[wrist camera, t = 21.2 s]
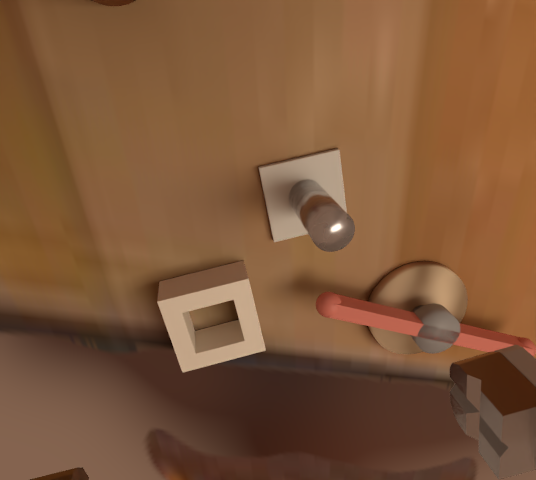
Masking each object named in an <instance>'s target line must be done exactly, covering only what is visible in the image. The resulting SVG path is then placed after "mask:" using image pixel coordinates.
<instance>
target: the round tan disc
mask: <svg viewBox="0 0 536 480" xmlns="http://www.w3.org/2000/svg"><path fill="white" fill-rule="evenodd" d="M467 301H468V299H467V291H466V288H465V285H464V283H463V282H462V280H461V279H460V278H459V277H458V276H457V275H456V274H455V273H454V272H452V271H451V270H450V269H449V268H447V267H446V266H444V265H442V264H440V263H437V262H432V261H417V262H412V263H409V264H406V265H403V266H401V267H399V268H397V269H395V270H393V271H392V272H391V273H389V274H388V275H386V276H385V277H384V278H383V279H382V280H381V281H380V282H379V283H378V285H377V286H376V287H375V289H374V290H373V292H372V294H371V295H370V298H369V300H368V302H372V303H376V304H380V305H384V306H389V307H393V308H397V309H401V310H406V311H410V312H415V311H416V310H417V309H418V308H420V307H422V306H424V305H427V304H432V303H436V304H440V305H442V306H444V307H445V308H446V309H447V310H448V311H449V312H450V313H451V314H452V315H453V316H454V317H455V318H456V319H457V320H458V322H459V323H461V321H462V319H463V317H464V315H465V312H466V308H467ZM368 328H369V330H370V331H371V333H372V335H373V336H374V338H375V339H376V341H377V342H378V343H379V344H380V345H381V346H382V347H383V348H385V349H387V350H389V351H391V352H394V353H398V354H416V353H420V352H424V351H422V350H421V349H420V348H419V346H418V345H417V344H416V343H415V341H414V340H413V339H412V337H411V336H410V335H407V334H403V333H398V332H394V331H389V330H384V329H380V328H375V327H371V326H368Z"/></svg>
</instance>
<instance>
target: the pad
mask: <svg viewBox="0 0 536 480" xmlns="http://www.w3.org/2000/svg"><path fill="white" fill-rule="evenodd" d="M258 168H259V173H260V178H261V183H262V188H263V193H264V197H265V202H266V207H267V212H268V217H269V222H270V227H271V232H272V237H273V241H274V242H277V241H281V240H285V239H289V238H293V237H297V236H301V235H306V234H308V232H307V231H306V229H305V228H304V226H303V224H302V223H301V221H300V220H299V218H298V217H297V215H296V214H295V212H294V211H293V209H292V207H291V206H290V203H289V193H290V190H291V189H292V187H293V186H294V185H295V184H296V183H298V182H299V181H302V180H314V181H316V182H317V183H319V184H320V185H321V187H322V188H323V189H324V190H325V191H326V192H327V193H328V194H329V195H330V196H331V197H332V198H333V199H334V200H335V201H336V202H337V203H338V204H339V206H340V207H341V208H342V209H343V210H344V211H345V212H346V213H347V211H346V202H345V194H344V185H343V177H342V168H341V160H340V151H339V149H338V148H337V149H332V150H328V151H324V152H320V153H315V154H311V155H307V156H303V157H298V158H294V159H290V160H285V161H281V162H277V163H273V164H268V165H264V166H260V167H258Z"/></svg>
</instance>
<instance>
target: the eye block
mask: <svg viewBox="0 0 536 480" xmlns="http://www.w3.org/2000/svg"><path fill="white" fill-rule="evenodd" d="M231 300H234V302H235V306H236V310H237V314H238V318H239V320H235V321H231V322H227V323H224V324H220V325H216V326H212V327H208V328H204V329H200V330H197V331H195V329H194V326H193V323H192V320H191V317H190V314H189V311H192V310H195V309H199V308H203V307H207V306H211V305H215V304H219V303H223V302H227V301H231ZM157 303H158V306H159V308H160V311H161V314H162V317H163V319H164V322H165V325H166V328H167V331H168V333H169V336H170V339H171V342H172V345H173V347H174V350H175V353H176V356H177V358H178V361H179V364H180V367H181V370H182V372H186V371H190V370H194V369H198V368H201V367H205V366H209V365H213V364H216V363H220V362H224V361H228V360H231V359H235V358H239V357H243V356H247V355H250V354H254V353H258V352H262V351H265V350H266V349H265V345H264V341H263V337H262V332H261V328H260V324H259V320H258V316H257V312H256V308H255V303H254V299H253V295H252V291H251V287H250V283H249V279H248V275H247V271H246V267H245V264H244V260H243V261H239V262H235V263H231V264H227V265H223V266H219V267H215V268H211V269H207V270H203V271H199V272H195V273H191V274H187V275H183V276H179V277H175V278H171V279H167V280H163V281H159V290H158V299H157Z"/></svg>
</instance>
